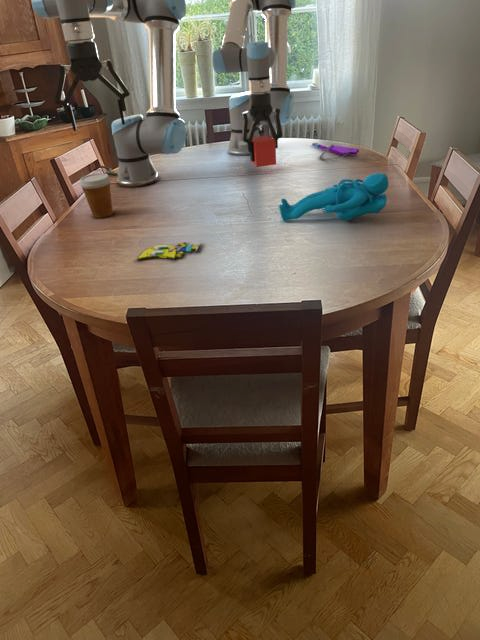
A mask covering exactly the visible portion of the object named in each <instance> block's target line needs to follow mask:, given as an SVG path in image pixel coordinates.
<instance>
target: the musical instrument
mask: <svg viewBox="0 0 480 640" xmlns="http://www.w3.org/2000/svg"><path fill="white" fill-rule="evenodd" d="M311 145H312V147H316V148H319V149H323V150H324V151H323V152H322V153H321V154H320V155H319V159H320V160H338V159H341V158H344V157H346V156H349V155H351V156H353V155H357V154H358V153H359V152H360V149H359V148H355V147H349V146H341V145H337V144H336V145H335V144H330V145H329V146H326V145H322V144H320V143H318V142H313V143H311ZM327 151H328V152H331V153H335V154H338V155H340V156H339V157H332V158H331V157H330V158H328V157H326V158H325V157H324V158H323V156H324V155H325V153H327Z"/></svg>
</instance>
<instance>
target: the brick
mask: <svg viewBox="0 0 480 640" xmlns="http://www.w3.org/2000/svg"><path fill="white" fill-rule="evenodd" d="M251 142H252V143H253V145H254V162H252V161H251V160H250V163H251V164H252V165H254V166H255V167H256V168H261V167H269V166H275V165H277V148H276V142H275V139H273V137H272V136H270V135H262V136H260V137H255V138H252V141H251Z"/></svg>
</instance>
